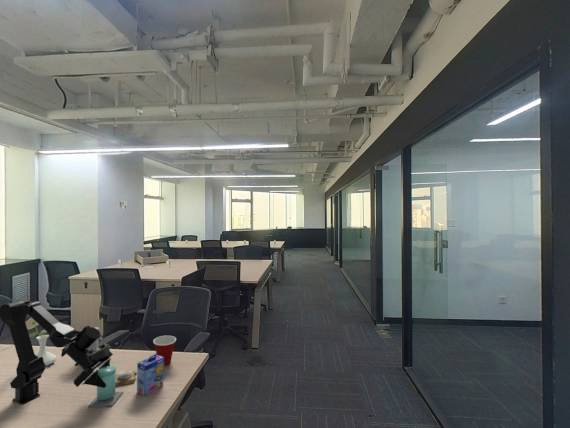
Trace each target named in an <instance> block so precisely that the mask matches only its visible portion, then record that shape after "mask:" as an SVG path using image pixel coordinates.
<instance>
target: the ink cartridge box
mask: <svg viewBox="0 0 570 428" xmlns="http://www.w3.org/2000/svg"><path fill="white" fill-rule="evenodd" d="M164 369H165V366H164V357H162V356H159V355H157V354H156V353H155V354H153V355H151V356H149V357H148V358H145V359H144V360H141V361H139V362H137V370H136V372H137V375H136V376H137V377H136V379H137V380H136V381H137V382H136V392H137V393H139V394H140V395H143V396H146V395H148V394H150V393H151V392H154V391H155V390H157V389H158V388H160V387H162V386H164V376H165V374H164V373H165V372H164V371H165V370H164Z"/></svg>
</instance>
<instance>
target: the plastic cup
mask: <svg viewBox="0 0 570 428" xmlns="http://www.w3.org/2000/svg"><path fill="white" fill-rule="evenodd" d="M152 341H153V344H154V348H155V349H154V350H155V354H157V355H159V356H162V357H164V367H166V366H168V365H170V364H171V362H172V357H173V352H174V347H175V343H176V341H177V337H176V336H173V335H160V336H157V337H156V338H154V339H153V340H152Z"/></svg>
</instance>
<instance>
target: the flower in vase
mask: <svg viewBox="0 0 570 428" xmlns="http://www.w3.org/2000/svg"><path fill="white" fill-rule="evenodd" d="M25 323H26V327H27V330H31V329H32V330H33V328H35V330H36V331H34V332H31V333H29V337H30V338H33V337H35V336H36V335H37V334H38V336H37V337H35V339H36V340H37V341H38V343H39V351H38V353H36V354H35V355H36V356H38V357H43V361H44V364H45V366H44V367H46V366H48V365H51V364H53V363H54V362H56V360H57V359H58V358H57V356H56V355H55V354H54V353H51V352H49V351H47V348H46V344H47V339H48V338H49V334H46V333H48V332H47V331H46V330H45V329H44V328H43V329H42V330H41V331H40V333H39V331H38V328H37V326H40V325H39V324H38V323H37V322H36V321H35V320H34V319H33V318H31V317H30V318H28V320H25Z"/></svg>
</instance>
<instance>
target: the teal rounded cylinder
mask: <svg viewBox="0 0 570 428" xmlns="http://www.w3.org/2000/svg"><path fill="white" fill-rule="evenodd" d="M98 369H99V368H98ZM98 369H97V370H98ZM116 371H117V367H116V366H115V365H110V366H107V367H103V368H100V369H99V370H98V376H99V377H100V378H101V379H102V380H103V381H104V383H105V384H106V387H105V388H102V387H98V386H96V397H97V399H98V400H106V399H109V398H111V397H113V396H114V395H115V392H116V386H115V380H116V374H117V372H116Z"/></svg>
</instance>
